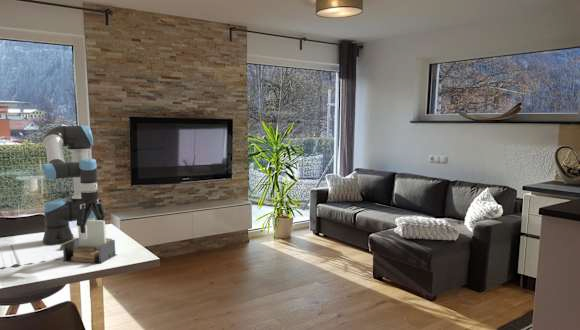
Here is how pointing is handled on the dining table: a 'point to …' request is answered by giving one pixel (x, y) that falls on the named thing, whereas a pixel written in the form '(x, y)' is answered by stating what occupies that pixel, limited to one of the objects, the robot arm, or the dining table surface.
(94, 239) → the sheet
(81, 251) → the offcut top
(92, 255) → the offcut middle
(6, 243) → the dining table surface
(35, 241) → the dining table surface
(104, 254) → the rack
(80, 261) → the offcut bottom
